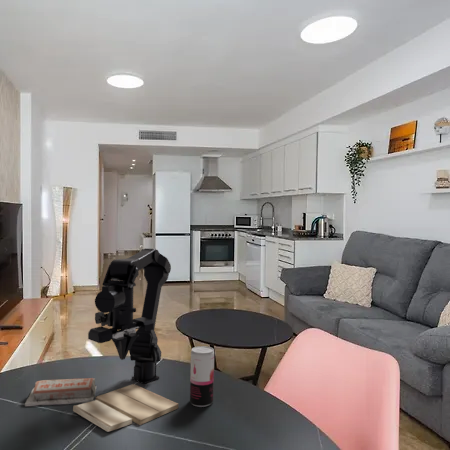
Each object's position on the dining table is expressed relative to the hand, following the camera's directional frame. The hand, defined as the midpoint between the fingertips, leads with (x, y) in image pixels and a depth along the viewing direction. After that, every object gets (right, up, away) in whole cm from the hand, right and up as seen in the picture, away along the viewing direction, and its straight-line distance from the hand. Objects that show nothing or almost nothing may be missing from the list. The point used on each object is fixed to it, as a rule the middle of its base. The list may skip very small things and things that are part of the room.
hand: (122, 359), depth 119 cm
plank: (-3, -11, -11) cm, 16 cm away
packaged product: (-18, -12, +1) cm, 21 cm away
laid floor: (+5, -12, -3) cm, 13 cm away
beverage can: (+22, -12, 0) cm, 26 cm away
